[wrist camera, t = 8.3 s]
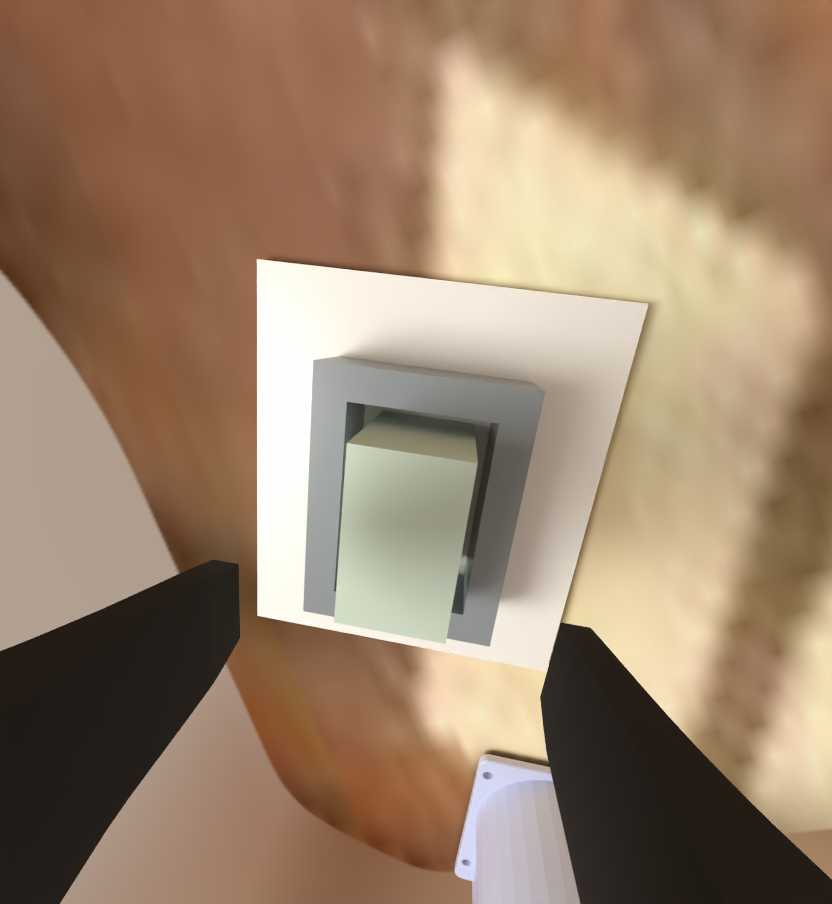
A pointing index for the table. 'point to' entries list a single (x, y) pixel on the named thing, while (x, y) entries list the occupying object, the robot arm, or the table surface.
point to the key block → (404, 524)
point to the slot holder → (445, 397)
